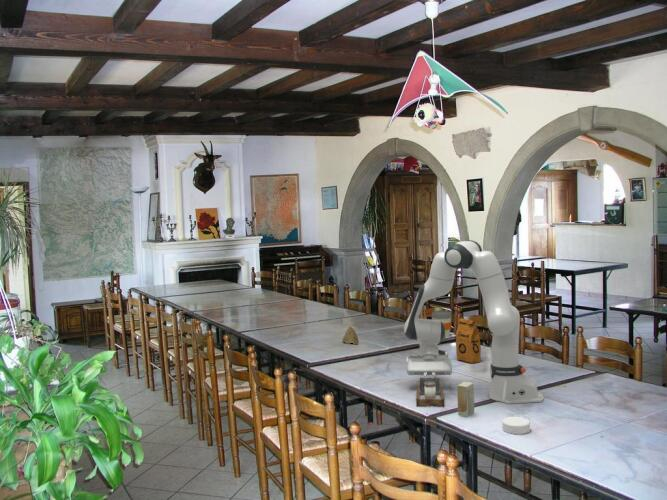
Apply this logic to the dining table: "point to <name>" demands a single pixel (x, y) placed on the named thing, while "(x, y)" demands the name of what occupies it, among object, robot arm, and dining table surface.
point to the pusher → (422, 380)
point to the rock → (350, 336)
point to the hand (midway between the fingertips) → (429, 382)
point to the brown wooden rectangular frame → (430, 400)
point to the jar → (430, 390)
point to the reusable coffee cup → (443, 320)
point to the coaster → (516, 425)
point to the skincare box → (465, 398)
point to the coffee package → (468, 342)
